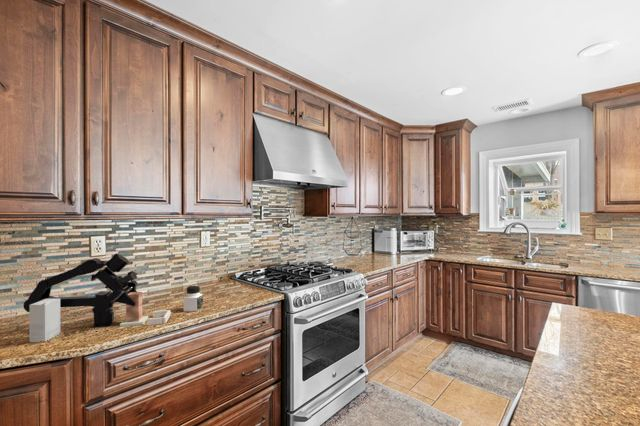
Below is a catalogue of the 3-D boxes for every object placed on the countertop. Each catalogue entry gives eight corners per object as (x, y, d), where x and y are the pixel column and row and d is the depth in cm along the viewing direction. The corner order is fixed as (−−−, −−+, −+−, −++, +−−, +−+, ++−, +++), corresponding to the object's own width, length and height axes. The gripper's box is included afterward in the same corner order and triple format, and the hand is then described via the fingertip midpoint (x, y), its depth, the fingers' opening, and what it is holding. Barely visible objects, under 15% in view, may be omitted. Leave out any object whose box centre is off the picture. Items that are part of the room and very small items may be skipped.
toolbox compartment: (147, 325, 135) (147, 319, 135) (153, 316, 146) (153, 311, 146) (165, 323, 137) (165, 317, 137) (170, 314, 148) (170, 309, 148)
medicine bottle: (197, 311, 153) (197, 287, 153) (183, 311, 153) (183, 287, 154) (203, 307, 160) (202, 284, 160) (189, 307, 161) (189, 284, 161)
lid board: (119, 326, 133) (119, 324, 133) (126, 320, 142) (126, 317, 142) (143, 324, 136) (143, 322, 136) (148, 317, 144) (148, 315, 144)
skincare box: (45, 334, 125) (45, 298, 125) (61, 334, 126) (61, 297, 126) (28, 343, 117) (28, 304, 117) (45, 342, 117) (45, 303, 117)
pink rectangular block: (126, 322, 136) (126, 295, 136) (130, 318, 141) (130, 292, 141) (138, 321, 137) (138, 294, 137) (142, 317, 142) (142, 291, 142)
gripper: (115, 270, 129) (143, 294, 131) (132, 263, 147) (157, 285, 149) (94, 290, 127) (123, 314, 130) (114, 280, 146) (140, 302, 148)
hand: (137, 303), depth 139 cm, fingers open, 7 cm apart
